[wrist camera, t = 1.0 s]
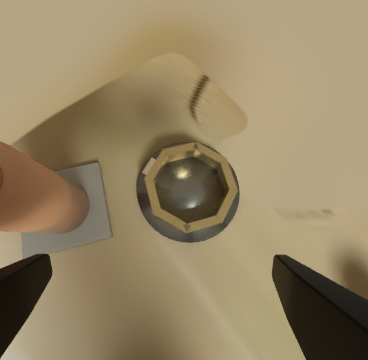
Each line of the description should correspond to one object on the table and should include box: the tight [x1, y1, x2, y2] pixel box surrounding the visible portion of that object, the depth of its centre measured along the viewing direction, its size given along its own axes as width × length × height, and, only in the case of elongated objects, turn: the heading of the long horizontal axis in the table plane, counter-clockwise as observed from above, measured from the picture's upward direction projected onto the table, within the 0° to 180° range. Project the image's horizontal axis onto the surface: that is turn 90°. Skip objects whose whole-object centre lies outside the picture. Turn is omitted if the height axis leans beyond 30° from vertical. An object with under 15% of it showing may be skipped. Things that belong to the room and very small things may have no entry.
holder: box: [137, 142, 239, 243], centre depth 22 cm, size 11×11×3 cm
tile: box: [21, 162, 113, 259], centre depth 21 cm, size 8×8×1 cm
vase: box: [0, 142, 90, 233], centre depth 15 cm, size 5×5×12 cm
